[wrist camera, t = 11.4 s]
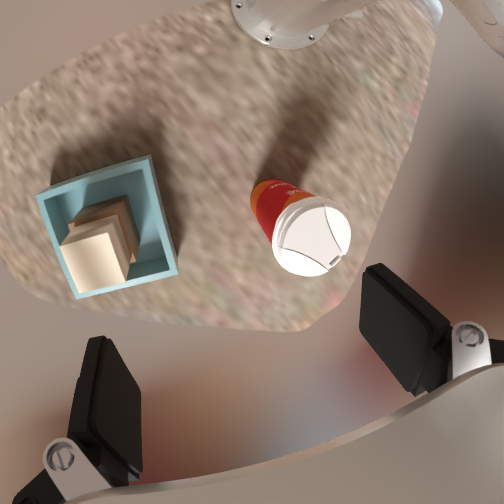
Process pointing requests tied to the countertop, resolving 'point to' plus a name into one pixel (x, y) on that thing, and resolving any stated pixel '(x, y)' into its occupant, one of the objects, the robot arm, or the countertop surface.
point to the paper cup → (301, 227)
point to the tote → (143, 207)
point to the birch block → (96, 254)
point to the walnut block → (110, 208)
